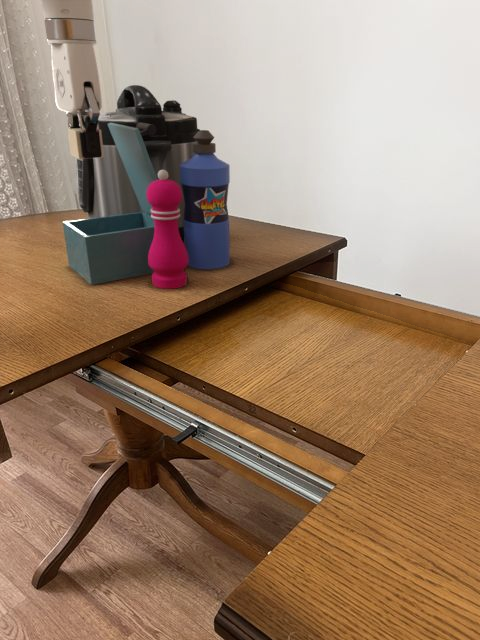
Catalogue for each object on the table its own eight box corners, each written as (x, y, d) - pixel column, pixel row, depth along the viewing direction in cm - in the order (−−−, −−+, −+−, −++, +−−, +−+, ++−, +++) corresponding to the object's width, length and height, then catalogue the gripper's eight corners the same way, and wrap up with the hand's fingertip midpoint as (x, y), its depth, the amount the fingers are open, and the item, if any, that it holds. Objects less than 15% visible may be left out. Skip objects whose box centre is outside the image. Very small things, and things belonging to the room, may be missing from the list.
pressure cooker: (118, 213, 147) (104, 82, 132) (219, 220, 142) (217, 85, 127) (60, 244, 120) (34, 85, 106) (181, 253, 116) (172, 88, 101)
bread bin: (91, 285, 98) (84, 237, 94) (69, 266, 107) (62, 221, 103) (174, 269, 107) (171, 224, 103) (147, 252, 116) (143, 211, 112)
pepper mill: (195, 278, 102) (191, 167, 93) (180, 292, 96) (173, 174, 87) (160, 274, 104) (152, 165, 94) (142, 287, 97) (132, 171, 88)
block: (79, 159, 92) (75, 131, 90) (70, 155, 95) (67, 128, 93) (104, 157, 94) (101, 129, 92) (95, 154, 97) (92, 127, 95)
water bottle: (237, 265, 109) (237, 132, 98) (194, 272, 105) (188, 134, 94) (219, 253, 117) (217, 127, 105) (178, 258, 113) (171, 128, 101)
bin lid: (134, 130, 92) (161, 118, 94) (107, 124, 101) (132, 113, 103) (169, 223, 102) (193, 210, 104) (141, 210, 111) (164, 199, 113)
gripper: (32, 35, 90) (50, 151, 99) (63, 31, 78) (81, 164, 86) (77, 37, 94) (91, 148, 102) (114, 33, 82) (126, 160, 90)
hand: (86, 154), depth 94 cm, fingers closed on block, 4 cm apart
